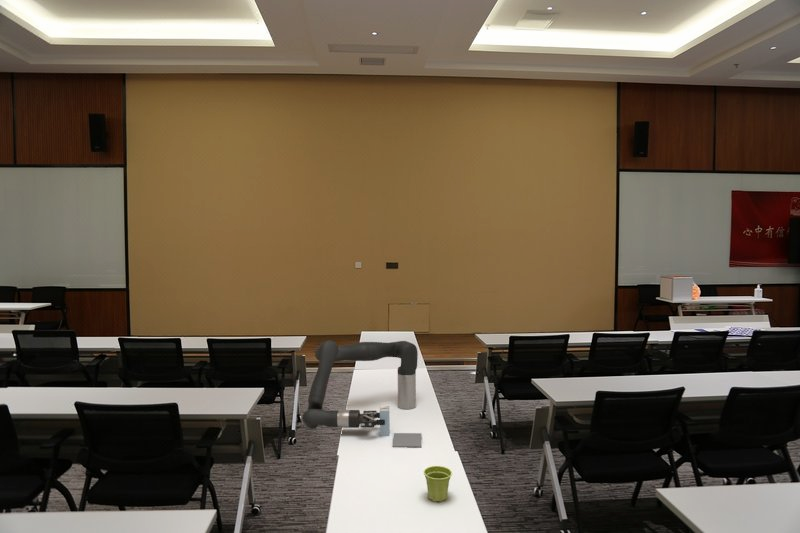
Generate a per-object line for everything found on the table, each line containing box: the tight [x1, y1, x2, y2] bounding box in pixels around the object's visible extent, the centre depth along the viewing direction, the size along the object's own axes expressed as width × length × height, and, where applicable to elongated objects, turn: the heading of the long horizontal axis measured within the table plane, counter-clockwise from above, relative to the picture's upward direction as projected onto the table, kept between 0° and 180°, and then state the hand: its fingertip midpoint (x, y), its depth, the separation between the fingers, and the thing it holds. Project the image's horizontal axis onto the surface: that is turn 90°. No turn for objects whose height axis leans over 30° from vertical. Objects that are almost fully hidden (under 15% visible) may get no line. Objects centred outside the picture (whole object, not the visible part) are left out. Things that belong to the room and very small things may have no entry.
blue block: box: [379, 405, 391, 437], centre depth 224 cm, size 4×4×12 cm
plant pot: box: [423, 465, 453, 502], centre depth 170 cm, size 9×9×9 cm
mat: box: [392, 432, 423, 449], centre depth 218 cm, size 14×12×1 cm
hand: (385, 418), depth 224 cm, fingers open, 8 cm apart
